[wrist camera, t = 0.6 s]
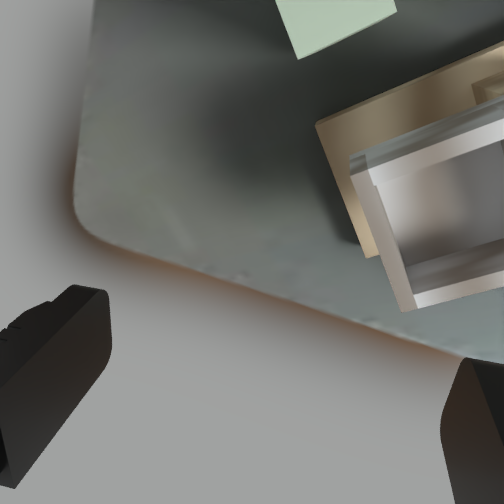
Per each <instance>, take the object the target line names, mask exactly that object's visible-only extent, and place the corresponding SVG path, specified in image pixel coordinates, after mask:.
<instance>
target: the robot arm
mask: <svg viewBox="0 0 504 504" xmlns="http://www.w3.org/2000/svg"><path fill="white" fill-rule="evenodd" d="M111 334H112V333H111V319H110V307H109V296H108V293H107V292H106V291H105V290H102V289H97V288H91V287H86V286H80V285H71V286H70V287H68V288H67V289H66V290H65V291H64V292H62V293H61V294H60V295H59V296H58V297H57V298H56V299H54V301H52V302H50V301H46V302H44V303H42V304H40V305H38V306H36V307H33V308H31V309H29V310H27V311H25V312H24V313H22V314H21V315H20V316H19V317H17V318H16V319H15V320H14V321H13V322H11V323H10V324H9V325H8V328H7V329H5V328H4V329H3V330H2V331H1V332H0V485H1V486H5V487H9V488H13V489H15V488H16V487H17V485H18V484H19V483H20V481H21V480H22V479H23V477H24V476H25V475H26V473H27V472H28V471H29V469H30V468H31V467H32V465H33V464H34V462H35V461H36V460H37V459H38V457H39V456H40V455H41V453H42V452H43V451H44V449H45V448H46V447H47V445H48V444H49V443H50V441H51V440H52V439H53V437H54V436H55V435H56V433H57V432H58V430H59V429H60V428H61V427H62V425H63V424H64V423H65V421H66V419H67V418H68V417H69V416H70V414H71V413H72V412H73V410H74V409H75V408H76V406H77V405H78V404H79V402H80V401H81V399H82V398H83V397H84V396H85V394H86V393H87V392H88V390H89V389H90V388H91V386H92V385H93V384H94V382H95V381H96V380H97V378H98V377H99V376H100V374H101V373H102V372H103V370H104V369H105V367H106V365H107V363H108V361H109V358H110V355H111V350H112V335H111ZM440 436H441V443H442V448H443V451H444V456H445V461H446V465H447V470H448V474H449V478H450V482H451V487H452V491H453V495H454V500H455V504H504V364H500V363H494V362H489V361H483V360H478V359H472V358H467V357H466V358H464V359H463V360H462V362H461V363H460V366H459V368H458V371H457V374H456V376H455V379H454V382H453V384H452V388H451V390H450V393H449V395H448V398H447V401H446V403H445V406H444V409H443V412H442V416H441V424H440Z"/></svg>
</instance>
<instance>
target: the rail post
mask: <svg viewBox="0 0 504 504" xmlns="http://www.w3.org/2000/svg"><path fill="white" fill-rule="evenodd" d="M275 1H276V4H277V6H278V9H279V11H280V14H281V17H282V19H283V22H284V24H285V27H286V30H287V32H288V35H289V38H290V40H291V43H292V45H293V48H294V51H295V53H296V56H297V58H298V60H299V59H301V58H304V57H306V56H309V55H312V54H314V53H317V52H319V51H321V50H323V49H325V48H327V47H329V46H331V45H333V44H335V43H337V42H339V41H341V40H343V39H345V38H347V37H350V36H352V35H354V34H356V33H358V32H360V31H362V30H364V29H366V28H368V27H370V26H372V25H374V24H376V23H378V22H380V21H382V20H383V19H385V18H387V17H388V16H390V15H392V14H394V13H395V12H397V10H396V7H395V3H394V0H275Z"/></svg>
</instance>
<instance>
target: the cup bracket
mask: <svg viewBox="0 0 504 504" xmlns="http://www.w3.org/2000/svg"><path fill="white" fill-rule="evenodd" d="M315 128H316V131H317V133H318V136H319V139H320V141H321V144H322V146H323V149H324V151H325V154H326V156H327V159H328V162H329V164H330V167H331V169H332V172H333V174H334V177H335V180H336V182H337V185H338V187H339V190H340V192H341V195H342V198H343V200H344V203H345V205H346V208H347V210H348V213H349V216H350V218H351V221H352V223H353V226H354V228H355V231H356V234H357V236H358V239H359V241H360V244H361V246H362V249H363V252H364V254H365V257H366V258H369V257H372V256H376V255H379V254H380V257H381V260H382V262H383V265H384V268H385V270H386V273H387V276H388V278H389V281H390V283H391V286H392V289H393V291H394V294H395V297H396V299H397V302H398V305H399V307H400V310H401V313H403V312H407V311H411V310H414V309H418V308H422V307H426V306H430V305H434V304H437V303H441V302H445V301H449V300H453V299H457V298H460V297H464V296H468V295H472V294H476V293H480V292H483V291H487V290H491V289H495V288H499V287H503V286H504V41H502V42H500V43H497V44H495V45H493V46H490V47H488V48H486V49H483V50H481V51H479V52H476V53H474V54H472V55H469V56H467V57H465V58H462V59H460V60H458V61H455V62H453V63H451V64H448V65H446V66H444V67H442V68H439V69H437V70H435V71H432V72H430V73H428V74H425V75H423V76H421V77H418V78H416V79H414V80H411V81H409V82H407V83H404V84H402V85H400V86H397V87H395V88H393V89H390V90H388V91H386V92H383V93H381V94H379V95H376V96H374V97H372V98H369V99H367V100H365V101H362V102H360V103H358V104H356V105H353V106H351V107H349V108H346V109H344V110H342V111H339V112H337V113H335V114H332V115H330V116H328V117H325V118H323V119H321V120H318V121H316V124H315Z"/></svg>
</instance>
